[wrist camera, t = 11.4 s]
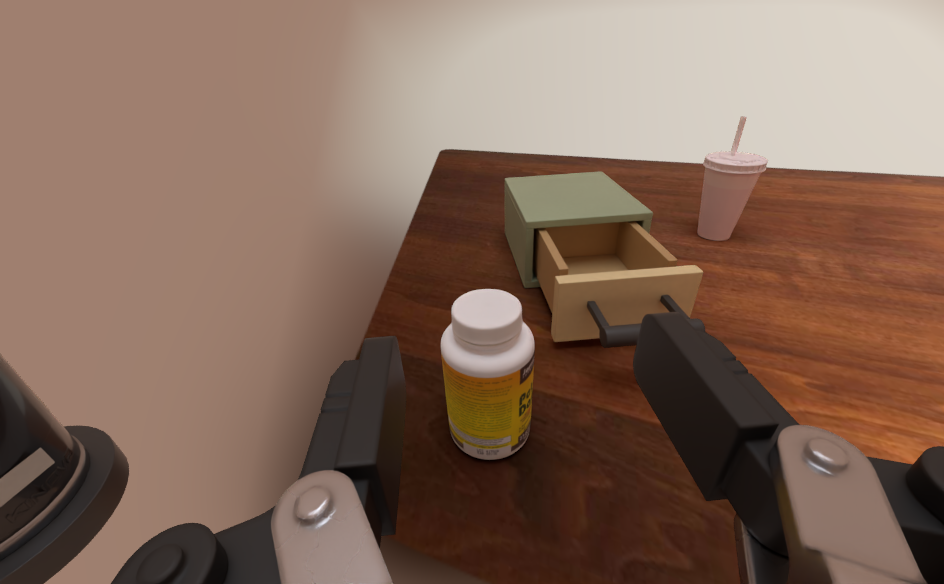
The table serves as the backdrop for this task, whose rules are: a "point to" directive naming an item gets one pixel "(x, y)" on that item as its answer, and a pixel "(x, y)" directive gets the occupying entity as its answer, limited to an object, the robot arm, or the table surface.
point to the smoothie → (727, 188)
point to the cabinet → (563, 210)
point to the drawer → (609, 281)
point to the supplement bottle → (488, 374)
